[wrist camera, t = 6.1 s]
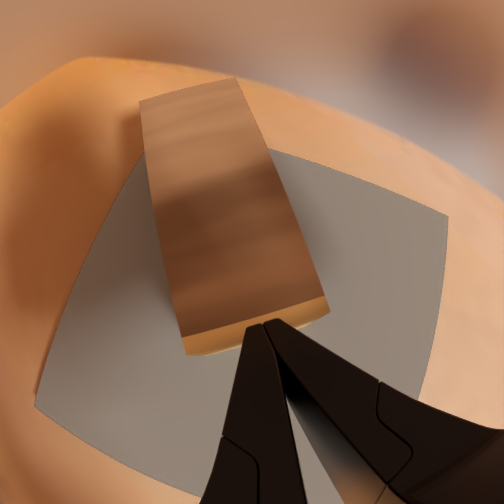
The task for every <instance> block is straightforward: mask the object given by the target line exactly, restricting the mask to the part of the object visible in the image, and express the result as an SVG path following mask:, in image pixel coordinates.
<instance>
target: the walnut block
mask: <svg viewBox="0 0 504 504" xmlns="http://www.w3.org/2000/svg"><path fill="white" fill-rule="evenodd" d="M139 105H140V116H141V125H142V134H143V142H144V150H145V158H146V165H147V172H148V179H149V186H150V192H151V198H152V204H153V210H154V216H155V221H156V227H157V232H158V237H159V242H160V247H161V252H162V257H163V262H164V267H165V271H166V276H167V281H168V285H169V289H170V294H171V298H172V302H173V306H174V310H175V314H176V318H177V322H178V326H179V330H180V334H181V338H182V341H183V345H184V349H185V352H186V355H191V356H208V355H212V354H216V353H219V352H223V351H227V350H230V349H234V348H237V347H241V346H242V342H243V338H244V334H245V329H246V328H247V327H248V326H251V325H255V324H258V323H261V324H263V323H264V322H265V321H268V320H271V319H274V318H280V319H281V320H283V321H284V322H286V323H287V324H289V325H291V326H292V327H294V328H295V329H299V328H302V327H305V326H307V325H308V324H310V323H312V322H314V321H316V320H317V319H319V318H321V317H323V316H324V315H326V314H328V313H330V312H331V311H330V308H329V305H328V303H327V300H326V297H325V294H324V291H323V288H322V286H321V283H320V280H319V277H318V275H317V272H316V269H315V266H314V264H313V261H312V258H311V256H310V253H309V250H308V248H307V245H306V242H305V240H304V237H303V235H302V232H301V229H300V227H299V224H298V222H297V219H296V217H295V214H294V211H293V209H292V206H291V204H290V201H289V199H288V196H287V194H286V192H285V189H284V187H283V184H282V182H281V179H280V177H279V174H278V172H277V170H276V167H275V165H274V163H273V160H272V158H271V155H270V153H269V151H268V148H267V146H266V144H265V141H264V139H263V137H262V135H261V132H260V130H259V128H258V125H257V123H256V121H255V119H254V117H253V114H252V112H251V110H250V108H249V105H248V103H247V101H246V99H245V97H244V95H243V92H242V90H241V88H240V86H239V84H238V82H237V80H236V78H230V79H225V80H220V81H215V82H210V83H206V84H201V85H197V86H193V87H189V88H185V89H181V90H177V91H173V92H169V93H166V94H162V95H159V96H155V97H152V98H149V99H145V100H142V101H139Z"/></svg>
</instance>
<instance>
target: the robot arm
mask: <svg viewBox="0 0 504 504" xmlns="http://www.w3.org/2000/svg"><path fill="white" fill-rule="evenodd" d="M286 399H287V400H286ZM287 401H288V403H289V405H290V407H291V409H292V411H293V413H294V415H295V417H296V418H297V420H298V422H299V424H300V426H301V428H302V430H303V431H304V433H305V435H306V437H307V439H308V440H309V442H310V444H311V446H312V448H313V450H314V451H315V453H316V455H317V457H318V458H319V460H320V462H321V464H322V466H323V467H324V469H325V471H326V473H327V474H328V476H329V478H330V480H331V481H332V483H333V485H334V487H335V488H336V490H337V492H338V493H339V495H340V497H341V499H342V500H343V502H344V504H504V429H494V428H489V427H485V426H482V425H479V424H476V423H473V422H470V421H468V420H465V419H462V418H459V417H457V416H454V415H452V414H449V413H446V412H444V411H441V410H439V409H436V408H434V407H431V406H429V405H427V404H424V403H422V402H420V401H418V400H415V399H413V398H411V397H409V396H408V395H406V394H404V393H402V392H400V391H398V390H396V389H394V388H393V387H391V386H389V385H387V384H386V383H384V382H382V381H381V382H379V379H377V378H375V377H374V376H372V375H370V374H369V373H367V372H365V371H364V370H362V369H360V368H359V367H357V366H355V365H354V364H352V363H350V362H349V361H347V360H345V359H344V358H342V357H340V356H339V355H337V354H335V353H334V352H332V351H331V350H329V349H327V348H326V347H324V346H322V345H321V344H319V343H318V342H316V341H314V340H313V339H311V338H310V337H308V336H306V335H305V334H303V333H302V332H300V331H299V330H297V329H295V328H294V327H292V326H291V325H289V324H287V323H286V322H284V321H283V320H281V319H280V318H274V319H271V320H268V321H265V322H264V323H263V324H261V323H258V324H255V325H251V326H248V327H247V328H246V329H245V334H244V338H243V342H242V347H241V351H240V356H239V360H238V365H237V369H236V373H235V378H234V382H233V386H232V391H231V395H230V400H229V404H228V408H227V412H226V417H225V421H224V425H223V430H222V437H221V438H220V442H219V446H218V450H217V454H216V458H215V461H214V465H213V468H212V472H211V475H210V477H209V480H208V483H207V486H206V488H205V491H204V494H203V496H202V498H201V501H200V503H199V504H308V499H307V495H306V490H305V485H304V480H303V475H302V471H301V466H300V461H299V456H298V451H297V447H296V442H295V437H294V432H293V428H292V423H291V418H290V413H289V409H288V404H287Z"/></svg>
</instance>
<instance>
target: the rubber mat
mask: <svg viewBox="0 0 504 504" xmlns="http://www.w3.org/2000/svg"><path fill="white" fill-rule="evenodd" d="M268 151H269V153H270V155H271V158H272V160H273V163H274V165H275V167H276V170H277V172H278V174H279V177H280V179H281V182H282V184H283V187H284V189H285V192H286V194H287V196H288V199H289V201H290V204H291V206H292V209H293V211H294V214H295V217H296V219H297V222H298V224H299V227H300V229H301V232H302V235H303V237H304V240H305V242H306V245H307V248H308V250H309V253H310V256H311V258H312V261H313V264H314V266H315V269H316V272H317V275H318V277H319V280H320V283H321V286H322V288H323V291H324V294H325V297H326V300H327V303H328V305H329V308H330V311H331V312H330V313H328V314H326V315H324V316H323V317H321V318H319V319H317V320H316V321H314V322H312V323H310V324H308V325H307V326H305V327H302V328H299V329H297V330H299V331H300V332H302V333H303V334H305V335H306V336H308V337H310V338H311V339H313V340H314V341H316V342H318V343H319V344H321V345H322V346H324V347H326V348H327V349H329V350H331V351H332V352H334V353H335V354H337V355H339V356H340V357H342V358H344V359H345V360H347V361H349V362H350V363H352V364H354V365H355V366H357V367H359V368H360V369H362V370H364V371H365V372H367V373H369V374H370V375H372V376H374V377H375V378H377V379H379V382H381V381H382V382H384V383H386V384H387V385H389V386H391V387H393V388H394V389H396V390H398V391H400V392H402V393H404V394H406V395H408V396H409V397H411V398H413V399H415V400H418V397H419V394H420V391H421V387H422V384H423V380H424V376H425V373H426V369H427V365H428V361H429V357H430V352H431V348H432V344H433V339H434V334H435V329H436V324H437V318H438V313H439V307H440V301H441V294H442V287H443V279H444V270H445V261H446V249H447V235H448V216H447V215H444V214H442V213H440V212H438V211H436V210H434V209H431V208H429V207H427V206H425V205H423V204H420V203H418V202H416V201H413V200H411V199H409V198H406V197H404V196H402V195H399V194H397V193H395V192H392V191H390V190H387V189H385V188H382V187H380V186H377V185H375V184H372V183H369V182H367V181H364V180H362V179H359V178H356V177H354V176H351V175H348V174H345V173H343V172H340V171H337V170H334V169H331V168H328V167H326V166H323V165H320V164H317V163H314V162H311V161H308V160H305V159H301V158H298V157H295V156H292V155H289V154H285V153H282V152H279V151H276V150H272V149H269V148H268ZM241 347H242V346H241ZM241 347H237V348H234V349H230V350H227V351H223V352H219V353H216V354H212V355H208V356H191V355H186V352H185V349H184V345H183V341H182V338H181V334H180V330H179V326H178V322H177V318H176V314H175V310H174V306H173V302H172V298H171V294H170V289H169V285H168V281H167V276H166V271H165V267H164V262H163V257H162V252H161V247H160V242H159V237H158V232H157V227H156V221H155V216H154V210H153V204H152V198H151V192H150V186H149V179H148V172H147V165H146V158H145V151H144V153H143V154H142V156H141V157H140V159H139V161H138V162H137V164H136V165H135V167H134V169H133V170H132V172H131V174H130V175H129V177H128V179H127V181H126V182H125V184H124V186H123V187H122V189H121V191H120V193H119V194H118V196H117V198H116V200H115V202H114V204H113V205H112V207H111V209H110V211H109V213H108V215H107V217H106V218H105V220H104V222H103V224H102V226H101V228H100V230H99V232H98V234H97V236H96V238H95V240H94V242H93V244H92V246H91V248H90V251H89V253H88V255H87V257H86V259H85V261H84V263H83V266H82V268H81V270H80V272H79V275H78V277H77V279H76V282H75V284H74V286H73V289H72V291H71V294H70V296H69V298H68V301H67V303H66V306H65V309H64V311H63V314H62V316H61V319H60V322H59V325H58V327H57V330H56V333H55V336H54V339H53V342H52V345H51V348H50V351H49V354H48V357H47V360H46V363H45V367H44V370H43V373H42V377H41V380H40V384H39V388H38V391H37V395H36V399H35V403H34V407H36V408H37V409H38V410H39V411H41V412H42V413H43V414H45V415H46V416H47V417H49V418H50V419H51V420H53V421H54V422H56V423H57V424H58V425H60V426H61V427H63V428H64V429H66V430H67V431H69V432H70V433H72V434H73V435H75V436H76V437H78V438H79V439H81V440H82V441H84V442H86V443H87V444H89V445H90V446H92V447H94V448H95V449H97V450H99V451H101V452H102V453H104V454H106V455H108V456H109V457H111V458H113V459H115V460H117V461H119V462H120V463H122V464H124V465H126V466H128V467H130V468H132V469H134V470H136V471H138V472H140V473H142V474H144V475H146V476H149V477H151V478H153V479H155V480H157V481H160V482H162V483H164V484H167V485H169V486H172V487H174V488H176V489H179V490H181V491H184V492H187V493H189V494H192V495H195V496H198V497H200V498H202V496H203V494H204V491H205V488H206V486H207V483H208V480H209V477H210V475H211V472H212V468H213V465H214V461H215V458H216V454H217V450H218V446H219V442H220V438H221V437H222V430H223V425H224V421H225V417H226V412H227V408H228V404H229V400H230V395H231V391H232V386H233V382H234V378H235V373H236V369H237V365H238V360H239V356H240V351H241ZM286 400H287V399H286ZM287 404H288V409H289V413H290V418H291V423H292V428H293V432H294V437H295V442H296V447H297V451H298V456H299V461H300V466H301V471H302V475H303V480H304V485H305V490H306V495H307V499H308V504H344V502H343V500H342V499H341V497H340V495H339V493H338V492H337V490H336V488H335V487H334V485H333V483H332V481H331V480H330V478H329V476H328V474H327V473H326V471H325V469H324V467H323V466H322V464H321V462H320V460H319V458H318V457H317V455H316V453H315V451H314V450H313V448H312V446H311V444H310V442H309V440H308V439H307V437H306V435H305V433H304V431H303V430H302V428H301V426H300V424H299V422H298V420H297V418H296V417H295V415H294V413H293V411H292V409H291V407H290V405H289V403H288V401H287Z"/></svg>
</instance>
